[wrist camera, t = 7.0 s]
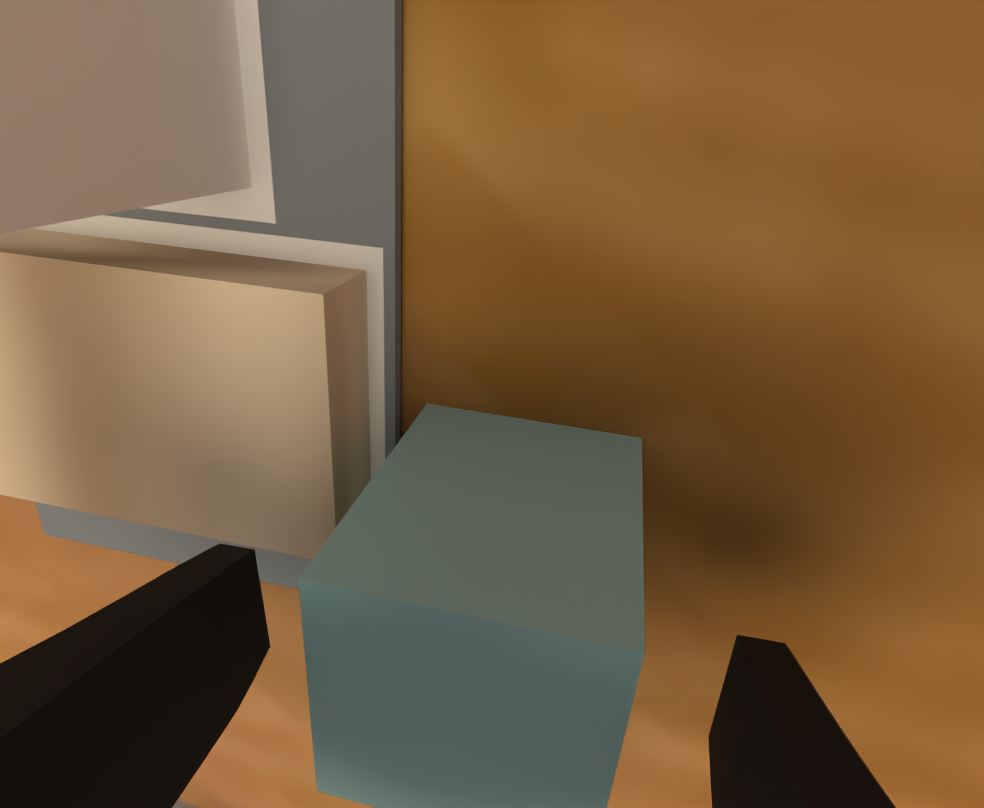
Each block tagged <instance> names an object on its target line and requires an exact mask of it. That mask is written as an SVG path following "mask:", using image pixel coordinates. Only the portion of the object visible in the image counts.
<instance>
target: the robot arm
mask: <svg viewBox="0 0 984 808" xmlns="http://www.w3.org/2000/svg"><path fill="white" fill-rule="evenodd" d="M269 648H270V642H269V636H268V630H267V623H266V617H265V611H264V605H263V598H262V592H261V586H260V579H259V573H258V567H257V561H256V554H255V549H249V548H243V547H238V546H232V545H226V544H221V543H219V544H217V545H215V546H214V547H212V548H210V549H208V550H206V551H204V552H202V553H200V554H198V555H196V556H194V557H193V558H191V559H189V560H187V561H185V562H184V563H182V564H180V565H178V566H177V567H175V568H173V569H171V570H169V571H168V572H166V573H164V574H162V575H161V576H159V577H157V578H155V579H154V580H152V581H150V582H148V583H147V584H145V585H143V586H141V587H140V588H138V589H136V590H134V591H133V592H131V593H129V594H127V595H126V596H124V597H122V598H120V599H119V600H117V601H115V602H113V603H111V604H110V605H108V606H106V607H104V608H103V609H101V610H99V611H97V612H96V613H94V614H92V615H90V616H88V617H87V618H85V619H83V620H81V621H80V622H78V623H76V624H74V625H72V626H71V627H69V628H67V629H65V630H63V631H61V632H60V633H58V634H56V635H54V636H52V637H50V638H48V639H46V640H44V641H42V642H40V643H39V644H37V645H35V646H33V647H31V648H29V649H27V650H25V651H23V652H21V653H20V654H18V655H16V656H14V657H12V658H10V659H8V660H6V661H4V662H2V663H0V808H172V807H173V805H174V804H175V802H176V801H177V800H178V798H179V797H180V795H181V794H182V792H183V791H184V789H185V788H186V786H187V785H188V783H189V782H190V780H191V779H192V777H193V776H194V774H195V773H196V771H197V770H198V769H199V767H200V766H201V764H202V763H203V761H204V760H205V758H206V757H207V755H208V754H209V752H210V751H211V749H212V748H213V746H214V745H215V743H216V742H217V740H218V739H219V737H220V736H221V734H222V733H223V731H224V730H225V728H226V727H227V725H228V724H229V722H230V720H231V719H232V717H233V716H234V714H235V713H236V711H237V710H238V708H239V706H240V704H241V702H242V700H243V699H244V697H245V695H246V693H247V691H248V689H249V687H250V686H251V684H252V682H253V680H254V678H255V676H256V674H257V672H258V670H259V668H260V666H261V664H262V662H263V660H264V658H265V656H266V654H267V652H268V650H269ZM709 753H710V775H711V793H712V808H896V807H895V806H894V804H893V803H892V802H891V800H890V799H889V797H888V796H887V795H886V793H885V792H884V790H883V789H882V787H881V786H880V785H879V783H878V782H877V780H876V779H875V778H874V776H873V775H872V773H871V772H870V771H869V769H868V768H867V766H866V765H865V763H864V762H863V760H862V759H861V757H860V756H859V754H858V753H857V752H856V750H855V749H854V747H853V746H852V744H851V743H850V741H849V740H848V738H847V737H846V735H845V734H844V732H843V731H842V729H841V728H840V726H839V725H838V723H837V722H836V720H835V719H834V717H833V716H832V714H831V713H830V711H829V710H828V708H827V706H826V705H825V703H824V702H823V700H822V699H821V697H820V696H819V694H818V693H817V691H816V689H815V688H814V686H813V685H812V683H811V682H810V680H809V679H808V677H807V675H806V674H805V672H804V671H803V669H802V668H801V666H800V665H799V663H798V661H797V660H796V658H795V657H794V655H793V654H792V652H791V651H790V649H789V648H788V647H787V646H786V644H785V643H780V642H775V641H769V640H764V639H758V638H752V637H747V636H741V635H737V637H736V641H735V644H734V648H733V651H732V655H731V659H730V662H729V666H728V669H727V673H726V676H725V680H724V684H723V687H722V691H721V694H720V698H719V701H718V705H717V709H716V712H715V716H714V719H713V723H712V726H711V730H710V734H709Z"/></svg>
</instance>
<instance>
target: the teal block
mask: <svg viewBox="0 0 984 808" xmlns="http://www.w3.org/2000/svg"><path fill="white" fill-rule="evenodd" d="M298 582H299V593H300V604H301V615H302V627H303V638H304V649H305V661H306V672H307V683H308V695H309V706H310V717H311V729H312V740H313V751H314V762H315V774H316V785H317V791H318V792H322V793H326V794H329V795H333V796H337V797H340V798H344V799H348V800H351V801H355V802H359V803H362V804H366V805H370V806H373V807H377V808H607V804H608V800H609V796H610V792H611V788H612V784H613V780H614V776H615V772H616V768H617V764H618V760H619V756H620V751H621V747H622V743H623V739H624V735H625V731H626V727H627V723H628V719H629V715H630V711H631V707H632V703H633V699H634V695H635V691H636V687H637V683H638V679H639V675H640V671H641V667H642V662H643V658H644V654H645V631H644V553H643V475H642V438H640V437H634V436H628V435H621V434H615V433H609V432H603V431H596V430H590V429H584V428H578V427H571V426H565V425H559V424H553V423H546V422H540V421H534V420H527V419H521V418H515V417H509V416H502V415H496V414H490V413H484V412H477V411H471V410H465V409H459V408H452V407H446V406H440V405H434V404H426V405H425V407H424V408H423V409H422V411H421V412H420V414H419V415H418V416H417V418H416V419H415V420H414V422H413V423H412V424H411V426H410V427H409V429H408V430H407V431H406V433H405V434H404V435H403V437H402V438H401V439H400V441H399V442H398V444H397V445H396V446H395V448H394V449H393V450H392V452H391V453H390V454H389V456H388V457H387V459H386V460H385V461H384V463H383V464H382V465H381V467H380V468H379V469H378V471H377V472H376V474H375V475H374V476H373V478H372V479H371V480H370V482H369V483H368V484H367V486H366V487H365V489H364V490H363V491H362V493H361V494H360V495H359V497H358V498H357V499H356V501H355V502H354V504H353V505H352V506H351V508H350V509H349V510H348V512H347V513H346V514H345V516H344V517H343V519H342V520H341V521H340V523H339V524H338V525H337V527H336V528H335V529H334V531H333V532H332V534H331V535H330V536H329V538H328V539H327V540H326V542H325V543H324V544H323V546H322V547H321V548H320V550H319V551H318V553H317V554H316V555H315V557H314V558H313V559H312V561H311V562H310V563H309V565H308V566H307V568H306V569H305V570H304V572H303V573H302V574H301V576H300V577H299V578H298Z"/></svg>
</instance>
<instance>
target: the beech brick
mask: <svg viewBox="0 0 984 808" xmlns="http://www.w3.org/2000/svg"><path fill="white" fill-rule="evenodd" d="M370 480H371V465H370V418H369V371H368V325H367V278H366V270H361V269H353V268H345V267H336V266H328V265H320V264H312V263H304V262H296V261H288V260H280V259H272V258H264V257H256V256H248V255H240V254H232V253H224V252H216V251H208V250H199V249H191V248H183V247H175V246H167V245H159V244H151V243H143V242H135V241H127V240H119V239H111V238H103V237H95V236H87V235H79V234H70V233H62V232H54V231H46V230H38V229H30V228H29V229H23V230H18V231H12V232H7V233H2V234H0V495H5V496H10V497H15V498H20V499H24V500H29V501H34V502H39V503H44V504H48V505H53V506H58V507H63V508H68V509H73V510H77V511H82V512H87V513H92V514H97V515H101V516H106V517H111V518H116V519H121V520H126V521H130V522H135V523H140V524H145V525H150V526H154V527H159V528H164V529H169V530H174V531H179V532H183V533H188V534H193V535H198V536H203V537H207V538H212V539H217V540H222V541H227V542H232V543H236V544H241V545H246V546H251V547H256V548H260V549H265V550H270V551H275V552H280V553H285V554H289V555H294V556H299V557H304V558H309V559H313V558H314V557H315V555H316V554H317V553H318V551H319V550H320V548H321V547H322V546H323V544H324V543H325V542H326V540H327V539H328V538H329V536H330V535H331V534H332V532H333V531H334V529H335V528H336V527H337V525H338V524H339V523H340V521H341V520H342V519H343V517H344V516H345V514H346V513H347V512H348V510H349V509H350V508H351V506H352V505H353V504H354V502H355V501H356V499H357V498H358V497H359V495H360V494H361V493H362V491H363V490H364V489H365V487H366V486H367V484H368V483H369V482H370Z"/></svg>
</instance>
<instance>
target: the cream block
mask: <svg viewBox="0 0 984 808" xmlns="http://www.w3.org/2000/svg"><path fill="white" fill-rule="evenodd" d="M246 188H252V184H251V173H250V162H249V152H248V141H247V131H246V120H245V109H244V99H243V88H242V77H241V67H240V56H239V45H238V35H237V24H236V13H235V3H234V0H0V234H2V233H7V232H12V231H18V230H23V229H29V228H34V227H40V226H45V225H51V224H56V223H61V222H67V221H72V220H78V219H83V218H89V217H94V216H100V215H105V214H110V213H116V212H121V211H127V210H132V209H138V208H143V207H148V206H154V205H159V204H165V203H170V202H176V201H181V200H187V199H192V198H197V197H203V196H208V195H214V194H219V193H225V192H230V191H235V190H241V189H246Z"/></svg>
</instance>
